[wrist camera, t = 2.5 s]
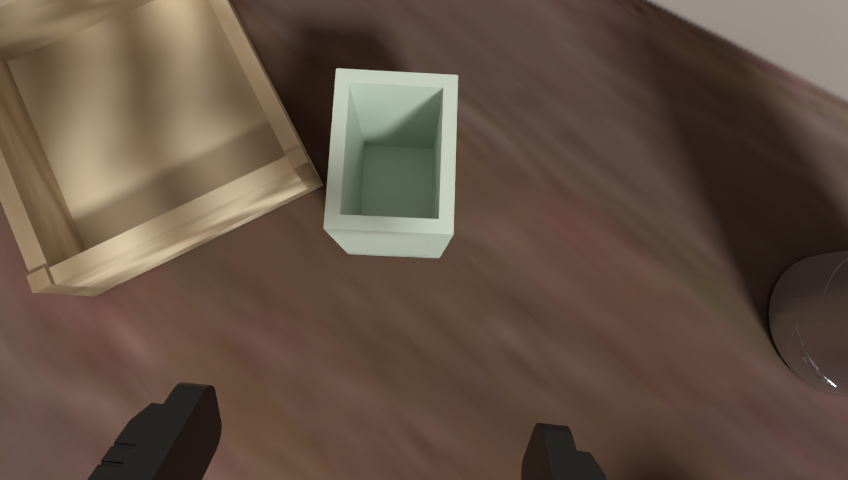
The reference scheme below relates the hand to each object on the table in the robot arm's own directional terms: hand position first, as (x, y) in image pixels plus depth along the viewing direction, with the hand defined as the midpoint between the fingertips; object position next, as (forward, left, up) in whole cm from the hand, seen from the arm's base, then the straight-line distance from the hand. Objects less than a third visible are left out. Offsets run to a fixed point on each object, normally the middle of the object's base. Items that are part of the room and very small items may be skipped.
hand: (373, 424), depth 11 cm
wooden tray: (+7, -21, -17) cm, 28 cm away
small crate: (-5, -9, -17) cm, 20 cm away
